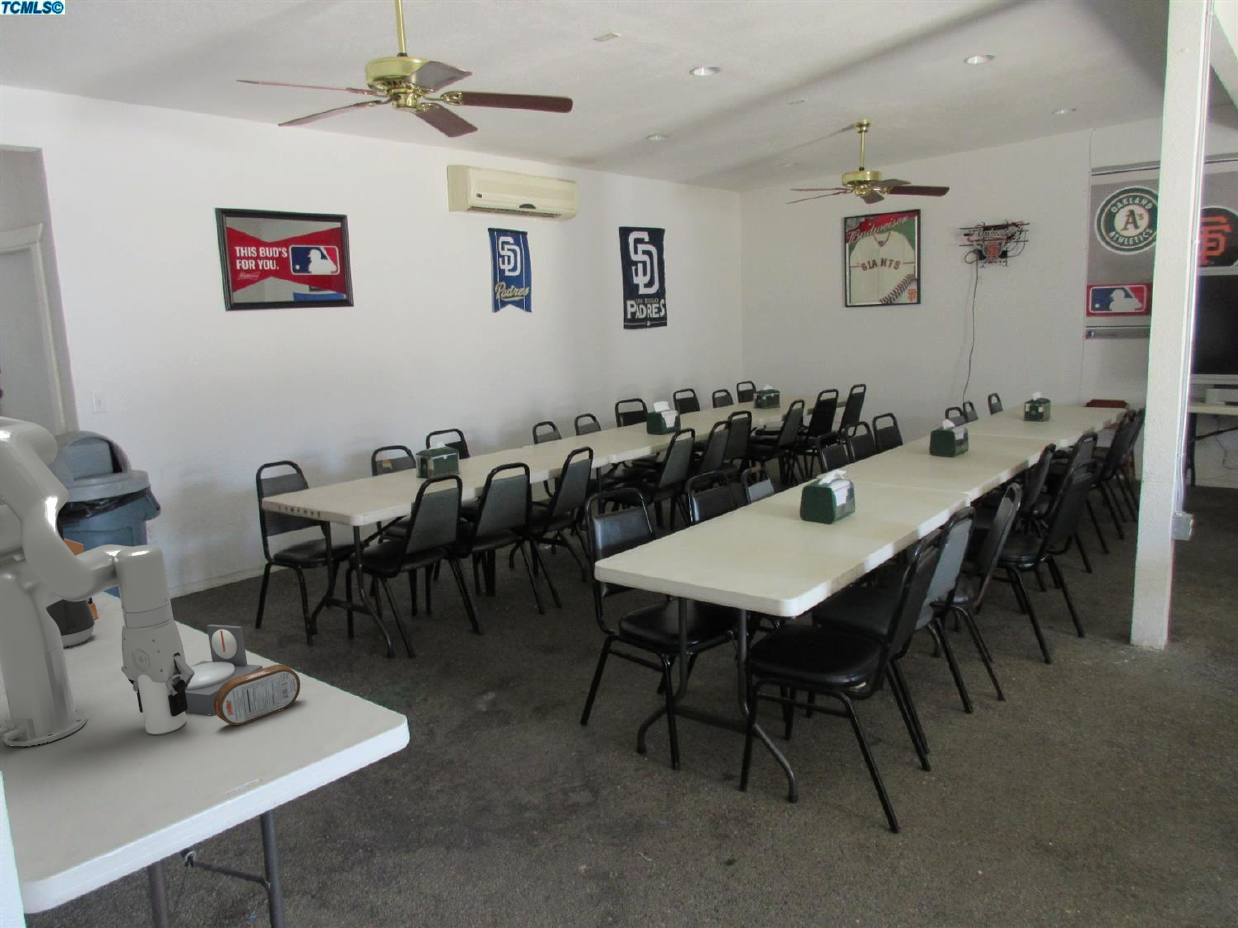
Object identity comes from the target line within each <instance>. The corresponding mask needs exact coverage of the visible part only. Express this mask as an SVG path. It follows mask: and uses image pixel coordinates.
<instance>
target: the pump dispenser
mask: <svg viewBox="0 0 1238 928" xmlns="http://www.w3.org/2000/svg"><path fill="white" fill-rule="evenodd" d="M46 610H47V612H48V614H49V615H50V616H51V617H52V619H53V620H54V621H55V622H56V624H57V626H58V628H59V630H60V634H61V638H62V643H63V648H68V647H67V646H69V647H73V646H72V645H74V646H77V645H76V644H78V645H80V644H83V643H84V642H86V641H88V640H89V638H90V637H91V636H92V634H93V633H94V626H95V625H96V621H95V620H96V619H94V617H93V614H92V611H91V608H90V606H89V604H88V602H87V600H83V601H77V602H73V601H67V600H64V599H62V600H60V601H58V602H56V603H54V604H51V605H50V606H48V607H46ZM79 643H80V644H79Z"/></svg>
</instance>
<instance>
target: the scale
mask: <svg viewBox="0 0 1238 928" xmlns="http://www.w3.org/2000/svg"><path fill="white" fill-rule="evenodd" d="M206 628H207V636H208V642H209V648H210V654H211V661H210V660H202V661H200V662H198V663H196V664H193V665H191V666H189V667H190V668H191V669H192V670H193V671H194V673H195V674H194V676H193V677H192V679H191V680H190V683H189V684H188V686H187V689H185V693H186V699H187V705H188V709H187V710H186V711H185V714H186V713H188V714H195V713H196V715H197V714H198V715H204V714H210V715H209V716H214V715H215V714H216V713H215V711H214V706H213V703H214V698H215V695H216V693H217V691H218V690H219V688H220V687H221V686H222V685H223V684H224V683H225V682H227V681H228V680H230V679H232V678H234V677H237V676H241V675H244V674H247V673H250V672H254V671H257V670H260V669H263V665H259V664H258V665H257V664H248V662H247V653H246V646H245V640H244V633H243V626H238V625H236V626H235V625H223V624H208V625H206ZM213 714H214V715H213Z"/></svg>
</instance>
